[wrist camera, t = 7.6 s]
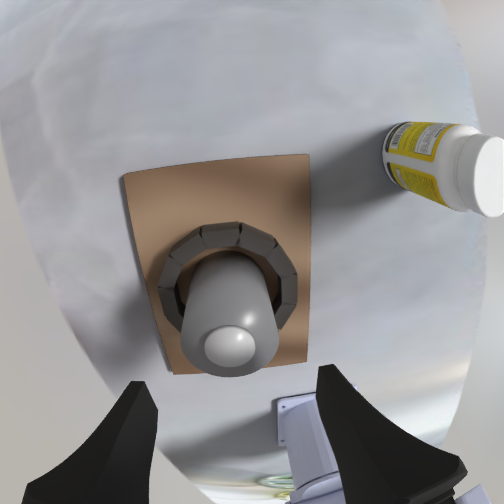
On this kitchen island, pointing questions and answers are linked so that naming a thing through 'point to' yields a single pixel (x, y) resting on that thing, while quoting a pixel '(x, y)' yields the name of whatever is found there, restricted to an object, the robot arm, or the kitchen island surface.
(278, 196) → the ring board
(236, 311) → the cap
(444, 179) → the supplement bottle
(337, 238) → the kitchen island surface
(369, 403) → the robot arm
